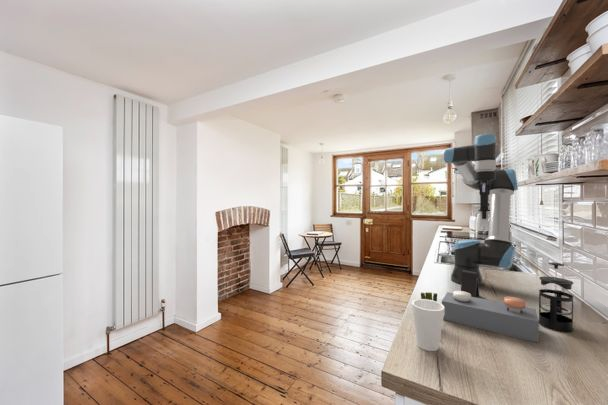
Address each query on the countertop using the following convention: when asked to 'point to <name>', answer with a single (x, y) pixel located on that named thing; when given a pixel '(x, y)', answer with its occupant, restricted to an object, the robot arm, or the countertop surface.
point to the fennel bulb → (429, 296)
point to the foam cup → (428, 323)
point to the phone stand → (470, 283)
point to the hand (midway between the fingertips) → (484, 226)
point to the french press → (556, 304)
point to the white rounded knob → (462, 296)
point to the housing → (492, 317)
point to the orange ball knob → (515, 304)
